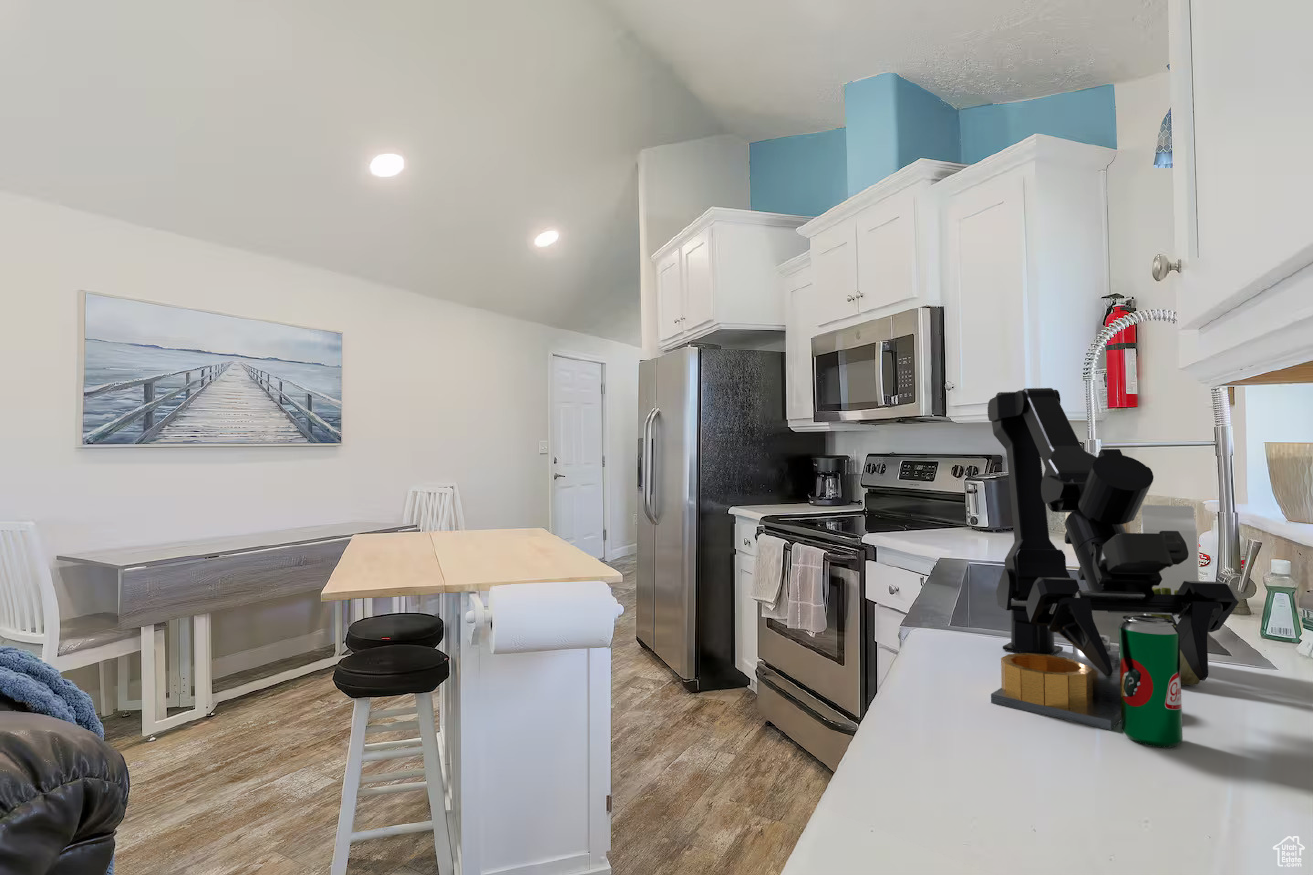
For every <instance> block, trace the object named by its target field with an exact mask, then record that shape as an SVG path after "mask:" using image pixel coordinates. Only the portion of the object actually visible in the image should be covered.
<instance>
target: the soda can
mask: <svg viewBox="0 0 1313 875" xmlns="http://www.w3.org/2000/svg"><path fill="white" fill-rule="evenodd" d="M1174 624H1175V623H1174V621H1172V620H1169V619H1166V618H1161V617H1155V616H1147V615H1144V614H1126V615H1123V616H1122V621H1121V622H1120V624H1119V625H1118V646H1119V664H1120V701H1121V721H1120V729H1121V731H1122V732H1123V734H1124V735H1125V736H1126V737H1127V738H1128V739H1130V740H1132V741H1133V742H1136V743H1138V744H1142V745H1146V746H1150V747H1155V748H1173V747H1177V746H1178V745H1180V744H1181V742H1183V740H1184V739H1183V738H1184V735H1183V734H1184V733H1183V708H1182V707H1183V706H1182V705H1183V704H1182V701H1183V700H1182V685H1181V667H1180V634H1179V632H1178V631H1177V629H1176V628H1175V626H1174Z"/></svg>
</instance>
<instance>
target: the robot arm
mask: <svg viewBox="0 0 1313 875" xmlns="http://www.w3.org/2000/svg"><path fill="white" fill-rule="evenodd" d="M987 419H988V421H989V422H991V426H992V433H993V436H994V437H995V438H996V439H997V440H998V442H999V443H1000V444H1001V445H1002V447H1003V448H1004V450H1005V451H1006V462H1007V474H1008V475H1007V476H1008V483H1009V484H1008V486H1009V494H1010V507H1011V517H1012V528H1013V537H1014V541H1013V542H1014V543H1013V544H1012V546H1011V548H1010V549H1009V551H1008V552H1007V554H1006V556H1005V558H1004V568H1003V570H1002V573H1001V576H1000V579H999V581H998V585H997V587H996V592H995V593H996V602H997V606H999V607H1000V608H1002V609H1004V610H1005V611H1010V642H1009V643H1006V644H1004V645H1002V650H1004V651H1010V652H1015V653H1032V654H1046V655H1053V656H1056V655H1057V654H1058V653H1060V652H1062V651H1063V650H1064V647H1063V646H1061V645H1055V633H1058V634H1059V635H1060V636H1062V638H1064V639H1065V640H1066V641H1067V642H1069V643H1070V644H1072V646H1073V645H1074V646H1075V647H1076V648H1077V649H1079V650H1080V651H1081V652H1082V653H1083V654H1084V655H1085V656H1086V657H1087V658H1088V659H1089V660H1090V661H1091V662H1092V663H1093V664H1094V665H1095V666H1096V667H1097V668H1098V669H1099V670H1100V671H1101V672H1102V673H1103V674H1104V675H1105V676H1111V674H1112V673H1113V669H1112V666H1111V662H1110V659H1109V656H1108V653H1107V651H1106V649H1105V646H1104V644H1103V642H1102V639H1101V637H1100V635H1101V634H1100V633H1099V630H1098V629H1097V626H1096V623H1095V620H1094V618H1093V617H1094V616H1093V611H1094V612H1095V611H1098V612H1100V611H1101V612H1107V613H1112V614H1113V613H1115V614H1116V613H1117V614H1136V615H1144V614H1167V615H1170V618H1171V620H1172V621H1174V623H1175V624H1174V625H1175V626H1176V627H1175V628H1176V629H1177V631H1178V632H1179V634H1180V650H1181V652H1182V653H1183V655H1184V657H1185V659H1186V660H1187V662H1188V664H1189V666H1190V668H1191V669H1192V671H1193V672H1194V673H1195V675H1196V676H1197V677H1198V679H1199V680H1200V681H1201V682H1206V680H1207V679H1208V677H1209V655H1208V653H1209V652H1208V651H1209V650H1208V633H1213V632H1216V631H1219V630H1220V629H1221V628H1222V626H1224V623H1225V622H1226V621H1227V619H1228V618H1229V616H1231V614H1232V613H1233V612H1234V610H1235V608H1236V607H1237V605H1238V604H1239V603H1240V600H1239V599H1238V597H1237V595H1236V594H1235V592H1234V590H1233V589H1232V587H1231V586H1230V585H1229V584H1228V583H1226V582H1221V581H1202V580H1201V581H1200V580H1199V581H1184V582H1183V583H1182V585H1181V587H1180V588H1179V590H1178V592H1177V593H1176V595H1170V594H1154V591H1153V589H1152V587H1153V586H1159V584H1160V582H1161V581H1162V577H1161V575H1160V573H1159V572H1160V571H1161V570H1163V569H1164V568H1166V567H1171V566H1172V565H1178V564H1180V563H1182V562H1183V561H1185V560H1186V559H1187V558H1188V555H1189V552H1188V549H1187V545H1186V542H1185V541H1184V539H1183V537H1182V536H1181V534H1180V533H1179V531H1160V532H1159V534H1155V533H1140V532H1127V530H1126V527H1125V526H1124V524H1127V523H1131V522H1133V521H1134V520H1135V519H1136V517H1137V514H1138V513H1139V510H1140V508H1142V504H1143V502H1144V500H1145V498H1146V496H1147V494H1148V492H1149V490H1150V487H1151V486H1152V484H1153V482H1154V474H1153V471H1152V469H1151V467H1149V466H1146V464H1144V463H1142V462H1141V461H1140V460H1137V459H1135V458H1133V457H1130V456H1127V455H1123V453H1122V451H1121V449H1120V448H1110V449H1109V448H1107V449H1106V448H1101V449H1100V450H1099V452H1098V454H1097V456H1095V455H1093V454H1092V453H1090V452H1088V451H1086V450H1085V449H1084V448H1083V447H1082V445H1081V443H1080V440H1079V439H1078V437H1077V435H1076V433H1075V431H1074V429H1073V427H1072V425H1071V423H1070V421H1069V419H1068V417H1067V415H1066V413H1065V411H1064V409H1063V407H1062V405H1061V395H1060V391H1059V390H1058V389H1054V388H1053V387H1034V388H1033V387H1031V388H1029V387H1027V388H1023V389H1021V390H1017V391H1002V392H1001V391H999V392H997V393H996V395H995V396H994V397H992V398H991V399H989V401H988V403H987ZM1042 463H1043V465H1042ZM1043 466H1044V468H1045V469H1044V473H1043ZM1047 507H1048V509H1049V511H1051V512H1052V513H1069V514H1068V515H1067V517H1066V518H1065V520H1064V527H1065V530H1066V532H1065V534H1064V544H1067V545H1071V546H1072V547H1073V548H1072V549H1073V550H1074V554H1075V556H1076V559H1077V561H1078V565H1079V568H1078V571H1077V575H1078V579H1079V581H1085V582H1086V583H1085V584H1086V585H1087V587H1088V590H1083V589H1082V590H1081V589H1080V584H1079V582H1078V580H1077V579H1076V578H1073V577H1071V575H1070V572H1068V570H1067V561H1066V555H1065V553H1064V551H1063V549H1058V548H1057V547H1056V546H1055V545H1054V543H1053V542H1052V541H1051V540H1050V533H1049V532H1050V531H1049V530H1050V529H1049V525H1048V524H1049V522H1048V515H1047V514H1048V512H1047ZM1012 599H1013V600H1012Z"/></svg>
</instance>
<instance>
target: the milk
mask: <svg viewBox="0 0 1313 875" xmlns="http://www.w3.org/2000/svg"><path fill="white" fill-rule="evenodd" d="M1140 526H1141V527H1140V532H1141V533H1155V534H1159V532H1160V531H1179V533H1180V534H1181V536H1182V537H1183V539H1184V541H1185V542H1186V545H1187V549H1188V552H1189V555H1188V558H1187V559H1186V560H1185V561H1183V562H1182V563H1180V564H1178V565H1172V566H1171V567H1166V568H1164V569H1163V570H1161V571H1160V572H1159V573H1160V575H1161V577H1162V581H1161V582H1160V584H1159V586H1153V587H1152V588H1160V589H1162V587H1163V588H1171V594H1172V595H1174V590H1179V588H1180V587H1181V585H1182V583H1183V582H1184V581H1200V580H1199V555H1198V552H1199V550H1198V531H1197V530H1198V529H1197V524H1196V519H1195V509H1194V506H1192V505H1169V504H1168V505H1166V504H1165V505H1164V504H1162V505H1161V504H1144V505H1141V524H1140ZM1161 594H1162V591H1161ZM1143 615H1147V616H1151V614H1143Z"/></svg>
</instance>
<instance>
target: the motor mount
mask: <svg viewBox="0 0 1313 875" xmlns="http://www.w3.org/2000/svg"><path fill="white" fill-rule="evenodd" d="M1099 635H1100V637H1101V639H1102V642H1103V644H1104V646H1105V649H1106V651H1107V653H1108V656H1109V659H1110V662H1111V666H1112V669H1113V673H1112V674H1111V676H1105V675H1104V674H1103V673H1102V672H1101V671H1100V670H1099V669H1098V668H1097V667H1096V666H1095V665H1094V664H1093V663H1092V662H1091V661H1090V660H1089V659H1088V658H1087V657H1086V656H1085V655H1084V654H1083V653H1082V652H1081V651H1080V650H1079V649H1077V648H1076V647H1075V646H1074V645H1073V644H1072V658H1068V657H1064V656H1057V655H1046V654H1032V653H1020V652H1018V653H1009V654H1006V655H1004V656H1002V657H1001V658H1000V667H1001V668H1000V672H1001V674H1000V675H1001V676H1000V678H1001V679H1000V680H1001V687H1000V688H999V689H997V690H995V691H993V692H992V693H990V703H992V704H995V705H1000V706H1005V707H1009V708H1013V709H1017V710H1022V711H1026V712H1031V713H1034V714H1039V715H1043V716H1048V717H1053V718H1056V719H1060V720H1064V721H1069V722H1074V723H1079V724H1083V725H1087V726H1091V727H1096V728H1099V729H1103V730H1104V729H1105V730H1109V731H1112V730H1113V729H1114V728H1115V727H1116V726H1117V725H1118V724H1119V723H1121V701H1120V664H1119V645H1118V646H1117V645H1114V644H1111V637H1110V635H1105V634H1099Z"/></svg>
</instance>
